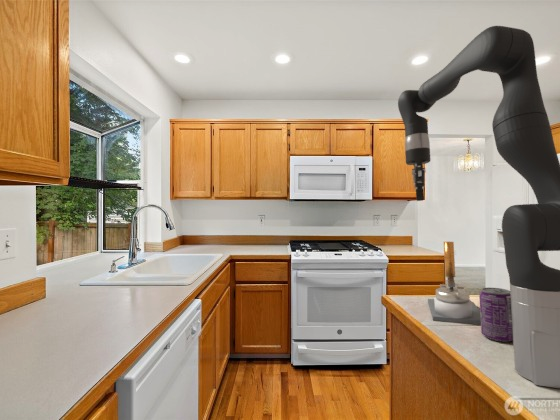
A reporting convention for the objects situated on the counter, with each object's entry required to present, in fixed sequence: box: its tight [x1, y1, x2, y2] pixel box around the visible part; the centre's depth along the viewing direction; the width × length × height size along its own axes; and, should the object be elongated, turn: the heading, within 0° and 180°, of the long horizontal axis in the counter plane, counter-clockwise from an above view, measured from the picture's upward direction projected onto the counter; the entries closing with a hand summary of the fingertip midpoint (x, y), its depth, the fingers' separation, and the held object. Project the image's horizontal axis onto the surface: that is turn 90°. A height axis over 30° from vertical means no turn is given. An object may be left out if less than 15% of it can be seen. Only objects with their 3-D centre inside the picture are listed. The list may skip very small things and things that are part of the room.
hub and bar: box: [435, 241, 471, 303], centre depth 95 cm, size 19×9×16 cm, turn 151°
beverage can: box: [479, 287, 513, 343], centre depth 74 cm, size 7×7×12 cm
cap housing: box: [427, 296, 481, 326], centre depth 94 cm, size 20×14×5 cm
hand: (420, 200), depth 98 cm, fingers closed
